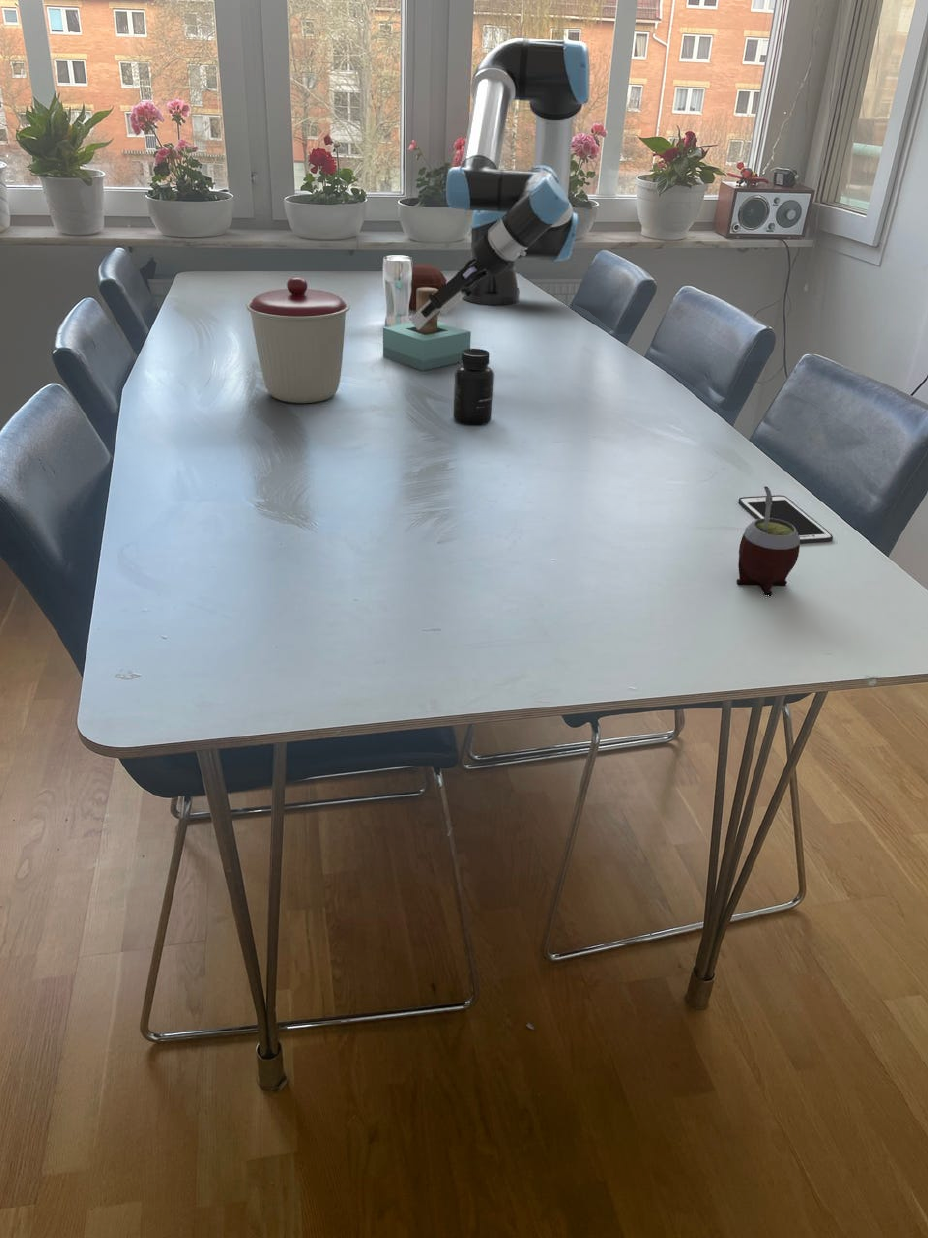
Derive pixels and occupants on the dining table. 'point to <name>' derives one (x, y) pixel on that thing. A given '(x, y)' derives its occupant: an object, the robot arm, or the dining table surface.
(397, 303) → the beer glass
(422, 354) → the socket block
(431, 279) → the muffin
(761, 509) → the cell phone
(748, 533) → the mate gourd
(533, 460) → the dining table surface
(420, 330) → the dowel pin
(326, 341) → the canister
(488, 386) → the supplement bottle
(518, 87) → the robot arm
